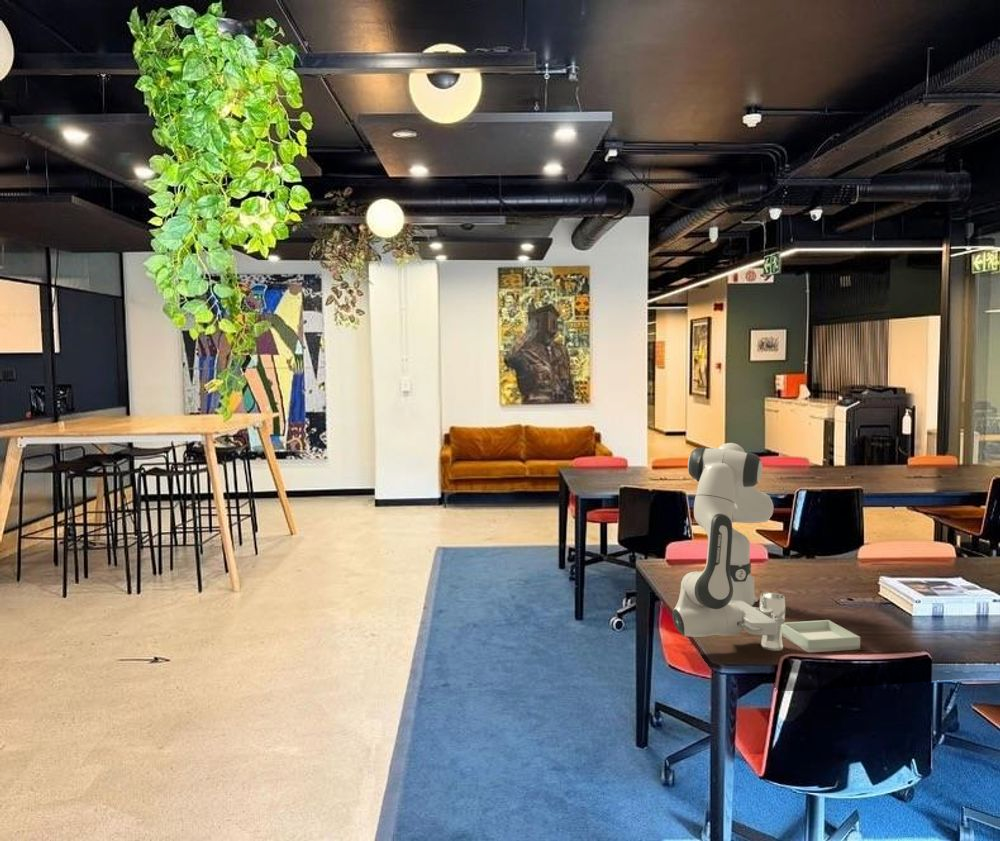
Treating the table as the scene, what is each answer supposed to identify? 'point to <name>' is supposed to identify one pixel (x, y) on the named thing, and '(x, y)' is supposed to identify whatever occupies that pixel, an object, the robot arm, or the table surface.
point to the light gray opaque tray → (820, 636)
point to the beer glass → (773, 608)
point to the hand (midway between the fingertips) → (775, 616)
